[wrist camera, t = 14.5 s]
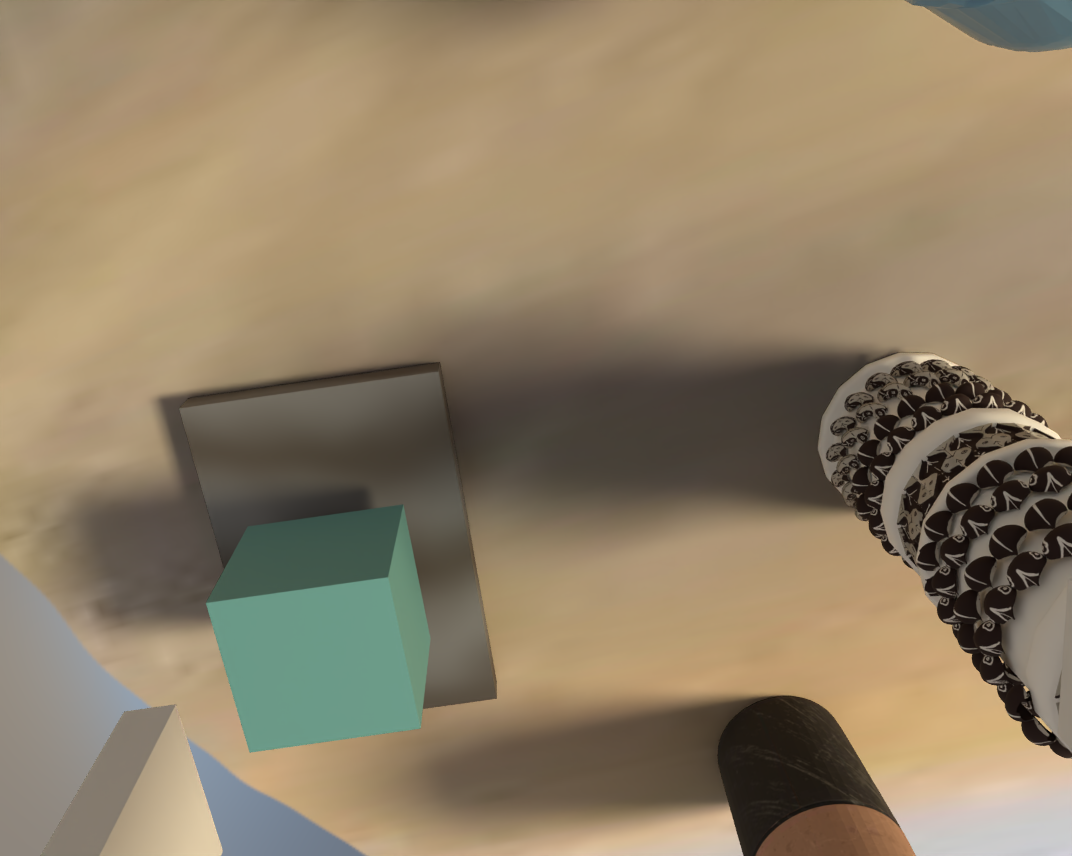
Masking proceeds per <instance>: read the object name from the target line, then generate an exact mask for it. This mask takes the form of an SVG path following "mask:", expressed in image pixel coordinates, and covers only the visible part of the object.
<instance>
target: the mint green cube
mask: <svg viewBox="0 0 1072 856" xmlns="http://www.w3.org/2000/svg"><path fill="white" fill-rule="evenodd" d="M206 605H207V609H208V612H209V616H210V619H211V622H212V626H213V629H214V633H215V636H216V639H217V643H218V646H219V650H220V653H221V656H222V660H223V663H224V667H225V670H226V673H227V677H228V680H229V684H230V687H231V690H232V694H233V697H234V701H235V704H236V707H237V711H238V714H239V718H240V721H241V725H242V728H243V731H244V735H245V738H246V742H247V745H248V748H249V752H257V751H264V750H271V749H278V748H285V747H292V746H300V745H307V744H314V743H321V742H328V741H335V740H342V739H349V738H356V737H364V736H371V735H378V734H385V733H392V732H399V731H406V730H413V729H420V728H421V720H422V711H423V702H424V693H425V684H426V675H427V666H428V657H429V648H430V639H431V638H430V634H429V629H428V624H427V619H426V614H425V609H424V604H423V599H422V594H421V589H420V584H419V579H418V574H417V569H416V564H415V559H414V555H413V550H412V545H411V540H410V535H409V530H408V525H407V520H406V515H405V510H404V505H395V506H388V507H381V508H374V509H367V510H360V511H353V512H346V513H339V514H332V515H325V516H318V517H311V518H304V519H297V520H290V521H283V522H276V523H269V524H262V525H255V526H248V527H247V529H246V531H245V532H244V534H243V536H242V538H241V540H240V542H239V543H238V545H237V547H236V549H235V551H234V553H233V554H232V556H231V558H230V560H229V562H228V563H227V565H226V567H225V569H224V571H223V573H222V574H221V576H220V578H219V580H218V582H217V584H216V585H215V587H214V589H213V591H212V593H211V595H210V596H209V598H208V600H207V602H206Z"/></svg>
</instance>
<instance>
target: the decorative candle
mask: <svg viewBox="0 0 1072 856" xmlns="http://www.w3.org/2000/svg"><path fill="white" fill-rule="evenodd" d="M818 452H819V455H820V458H821V462H822V465H823V468H824V472H825V475H826V477H827V478H828V480H829V481H830V482H831V483H832V484H833V485H834V486H835V487H836V488H837V489H838V490H839V492H840V493H841V494H842V496H843V497H844V501H845V503H846V504H847V505H848V506H850V507H855V506H856V509H855V515H856V517H857V518H858V519H859V520H861V521H867V520H869V530H870V532H871V533H872V535H874V536H875V537H876V538H878V539H881V543H882V546H883V548H884V549H885V551H887V552H888V553H889V554H891V555H893V556H902V560H903V562H904V563H905V564H906V565H907V566H908V567H910V568H912V569H914V570H915V571H916V572H917V573H918V574H919V576H920V577H921V580H922V584H923V588H924V591H925V595H926V596H927V597H928V598H929V600H930V601H931V602H932V603H933V604H934V605H935V606H936V607H937V613H938V616H939V618H940V620H941V621H942V622H944V623H946V624H951V625H953V626H952V629H953V633H954V635H955V637H956V638H957V640H958V643H959V645H960V647H961V648H962V649H963V650H964V651H965V652H967V653H970V654H972V662H973V665H974V666H975V668H976V669H977V670H978V671H979V672H980V674H981V677H982V679H983V680H984V681H985V682H987V683H989V684H991V685H996V686H997V691H998V695H999V697H1000V698H1001V700H1002V701H1003V702H1004V703H1005V708H1006V711H1007V713H1008V714H1009V716H1010V717H1011V718H1012V719H1014V720H1016V721H1021V722H1022V724H1021V726H1022V731H1023V733H1024V735H1025V736H1026V738H1027V739H1028V740H1029V741H1031V742H1032V743H1034V744H1036V745H1040V746H1046V745H1049V746H1050V748H1051V749H1052V750H1053V752H1055V753H1056V754H1057V755H1059V756H1061V757H1064V758H1070V759H1072V750H1071V749H1070V748H1069V746H1068V745H1067V744H1066V743H1065V742H1064V741H1063V740H1062V738H1061V737H1060V736H1059V735H1058V719H1059V704H1060V689H1061V675H1062V660H1063V645H1064V630H1065V615H1066V601H1067V586H1068V579H1069V578H1072V440H1071V439H1061V438H1060V437H1059V435H1058V434H1057V433H1055V432H1054V431H1052V430H1051V429H1049V428H1048V426H1047V423H1046V421H1045V419H1044V418H1043V417H1042V416H1040V415H1038V414H1035V413H1031V410H1030V408H1029V407H1028V406H1027V405H1026V404H1024V403H1023V402H1020V401H1012V400H1011V397H1010V396H1009V395H1008V394H1007V393H1006V392H1004V391H1001V390H999V389H997V388H995V387H993V385H992V384H991V383H990V382H989V381H988V380H986V379H985V378H983V377H980V376H976V375H975V374H974V373H973V372H972V371H971V370H969V369H968V368H965V367H962V366H959V365H957V364H955V363H952V362H950V361H948V360H946V359H944V358H941V357H939V356H937V355H935V354H933V353H896V354H894V355H891V356H888V357H886V358H883V359H880V360H878V361H875V362H872V363H869V364H867V365H865V366H864V367H863V368H861V369H860V370H859V371H858V372H857V373H855V374H854V375H853V376H852V377H851V378H849V379H848V380H847V381H846V382H845V383H844V384H842V385H841V386H840V387H839V388H838V390H837V391H836V393H835V395H834V397H833V398H832V400H831V402H830V404H829V405H828V407H827V409H826V411H825V412H824V414H823V416H822V419H821V427H820V434H819V441H818ZM999 656H1000V657H1001V658H1002V660H1003V661H1004V663H1002V662H1001V660H1000V658H999ZM1024 686H1026V687H1027V688H1028V689H1029V690H1030V691H1027V693H1026V691H1025V689H1024V688H1023V687H1024ZM1034 716H1036V717H1038V718H1041V719H1042V720H1043V721H1044V722H1045V723H1046V725H1047V726H1048V727H1049V728H1050V729H1051V730H1052V733H1051V732H1049V731H1048V730H1047V729H1046V728H1045V727H1044V726H1043V725H1042V724H1041V723H1040V722H1039V721H1038V720H1037V719H1036V718H1035V717H1034Z"/></svg>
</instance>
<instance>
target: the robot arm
mask: <svg viewBox="0 0 1072 856" xmlns="http://www.w3.org/2000/svg"><path fill="white" fill-rule="evenodd" d="M905 1H907V2H909V3H911V4H912V5H917V6H923V7H925V8H927V9H928V10H930V11H931V12H933V13H934V14H936V15H938V16H939V17H941V18H942V19H944V20H945V21H947V22H948V23H950V24H951V25H953V26H955V27H956V28H958V29H959V30H961V31H962V32H964V33H965V34H967V35H969V36H970V37H972V38H974V39H976V40H978V41H980V42H982V43H985V44H987V45H994V46H997V47H1001V48H1005V49H1010V50H1014V51H1027V52H1041V51H1050V50H1059V49H1067V48H1072V0H905ZM1058 735H1059V736H1060V737H1061V738H1062V740H1063V741H1064V742H1065V743H1066V744H1067V745H1068V746H1069V748H1070V749H1071V750H1072V578H1069V579H1068V586H1067V601H1066V615H1065V630H1064V645H1063V660H1062V675H1061V689H1060V704H1059V719H1058ZM222 851H223V850H222V847H221V844H220V841H219V838H218V835H217V831H216V828H215V825H214V822H213V819H212V816H211V812H210V809H209V806H208V803H207V800H206V797H205V794H204V791H203V788H202V785H201V782H200V778H199V775H198V772H197V769H196V766H195V762H194V759H193V756H192V753H191V750H190V747H189V744H188V741H187V737H186V734H185V731H184V728H183V725H182V722H181V719H180V715H179V712H178V709H177V706H176V704H175V705H168V706H161V707H154V708H147V709H140V710H133V711H126V712H124V713H123V715H122V716H121V718H120V720H119V722H118V723H117V725H116V727H115V728H114V730H113V732H112V733H111V735H110V738H109V739H108V740H107V742H106V744H105V746H104V747H103V749H102V751H101V752H100V754H99V756H98V758H97V759H96V761H95V763H94V764H93V766H92V768H91V770H90V771H89V773H88V775H87V776H86V778H85V780H84V782H83V783H82V785H81V787H80V788H79V790H78V792H77V794H76V795H75V797H74V799H73V800H72V802H71V804H70V806H69V807H68V809H67V811H66V812H65V814H64V816H63V818H62V819H61V821H60V823H59V825H58V826H57V828H56V830H55V831H54V833H53V835H52V837H51V838H50V840H49V842H48V844H47V845H46V847H45V849H44V850H43V852H42V854H41V855H40V856H221V854H222Z"/></svg>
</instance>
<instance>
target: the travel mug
mask: <svg viewBox="0 0 1072 856" xmlns="http://www.w3.org/2000/svg"><path fill="white" fill-rule="evenodd" d="M718 764H719V769H720V773H721V777H722V781H723V784H724V788H725V792H726V795H727V799H728V802H729V806H730V810H731V813H732V817H733V820H734V824H735V827H736V831H737V834H738V838H739V841H740V845H741V848H742V852H743V856H916V855H915V853H914V851H913V850H912V848H911V846H910V844H909V842H908V840H907V838H906V837H905V835H904V833H903V831H902V830H901V828H900V826H899V824H898V823H897V821H896V819H895V818H894V816H893V814H892V812H891V811H890V809H889V807H888V806H887V804H886V802H885V801H884V799H883V797H882V796H881V794H880V792H879V791H878V789H877V787H876V786H875V784H874V782H873V781H872V779H871V777H870V776H869V774H868V772H867V770H866V769H865V767H864V765H863V764H862V762H861V760H860V759H859V757H858V755H857V754H856V752H855V750H854V749H853V747H852V745H851V744H850V742H849V740H848V739H847V737H846V735H845V734H844V732H843V730H842V729H841V727H840V726H839V724H838V723H837V721H836V720H835V719H834V717H833V716H832V715H831V714H830V713H829V712H828V711H827V710H826V709H825V708H823V707H822V706H820V705H819V704H817V703H815V702H813V701H810V700H807V699H804V698H799V697H791V696H783V697H774V698H769V699H765V700H762V701H760V702H757V703H755V704H753V705H751V706H749V707H747V708H746V709H744V710H743V711H741V712H740V713H739V714H738V715H736V716H735V717H734V718H733V719H732V720H731V722H730V723H729V724H728V725H727V727H726V728H725V730H724V732H723V734H722V736H721V739H720V742H719V746H718Z"/></svg>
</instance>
